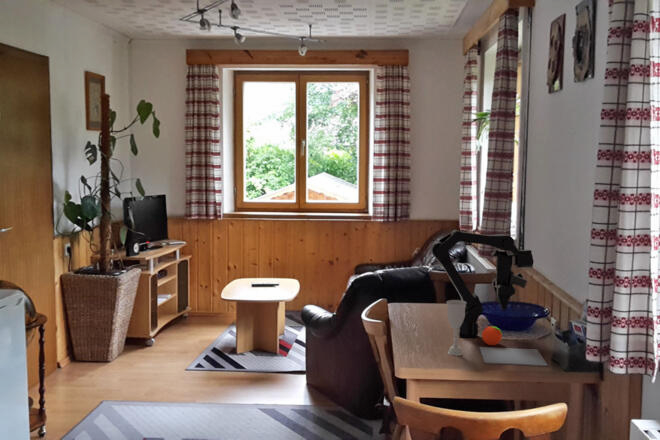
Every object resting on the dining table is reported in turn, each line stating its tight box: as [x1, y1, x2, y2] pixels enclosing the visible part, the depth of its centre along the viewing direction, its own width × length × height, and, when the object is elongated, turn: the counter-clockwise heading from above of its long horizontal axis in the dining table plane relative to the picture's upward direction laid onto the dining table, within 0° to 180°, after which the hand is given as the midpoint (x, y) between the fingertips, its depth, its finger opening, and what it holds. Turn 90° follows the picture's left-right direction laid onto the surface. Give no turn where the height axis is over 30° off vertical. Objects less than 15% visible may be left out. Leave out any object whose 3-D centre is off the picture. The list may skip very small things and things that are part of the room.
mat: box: [479, 346, 549, 367], centre depth 220 cm, size 20×18×1 cm
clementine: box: [481, 325, 504, 346], centre depth 234 cm, size 8×7×7 cm
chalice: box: [446, 299, 467, 357], centre depth 222 cm, size 7×7×18 cm
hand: (502, 308), depth 245 cm, fingers open, 6 cm apart
